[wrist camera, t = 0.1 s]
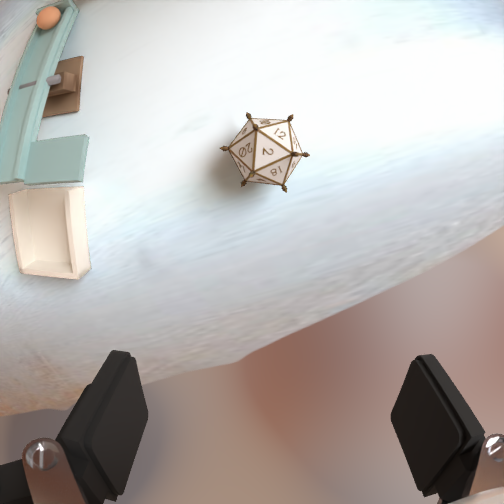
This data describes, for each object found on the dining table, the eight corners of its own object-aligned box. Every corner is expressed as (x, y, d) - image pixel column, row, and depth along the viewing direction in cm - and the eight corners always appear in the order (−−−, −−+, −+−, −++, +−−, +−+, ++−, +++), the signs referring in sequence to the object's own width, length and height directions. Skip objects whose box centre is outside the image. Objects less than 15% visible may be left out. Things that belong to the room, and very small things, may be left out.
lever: (40, 23, 29) (30, 12, 26) (128, -1, 29) (121, -17, 26) (-9, 189, 29) (-27, 184, 26) (83, 182, 29) (66, 175, 26)
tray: (24, 189, 38) (8, 194, 34) (83, 186, 38) (68, 190, 34) (34, 263, 42) (20, 273, 38) (91, 268, 42) (78, 279, 38)
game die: (261, 164, 41) (231, 214, 35) (233, 109, 36) (193, 151, 30) (325, 154, 36) (307, 206, 30) (301, 90, 31) (273, 129, 25)
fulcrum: (31, 70, 32) (16, 67, 29) (83, 56, 32) (69, 51, 29) (27, 120, 35) (11, 120, 31) (79, 110, 35) (64, 109, 31)
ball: (48, 17, 28) (36, 6, 25) (67, 10, 28) (56, -1, 25) (41, 36, 28) (28, 26, 25) (60, 30, 29) (48, 18, 25)
